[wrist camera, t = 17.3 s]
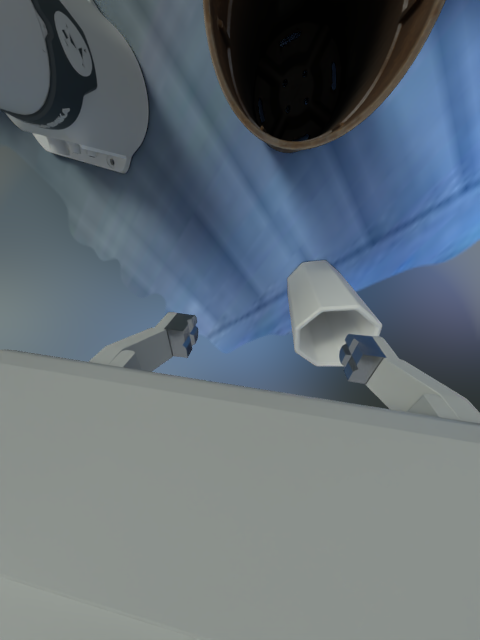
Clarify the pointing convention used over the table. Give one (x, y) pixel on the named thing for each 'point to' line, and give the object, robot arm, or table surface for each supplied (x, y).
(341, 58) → the plant pot
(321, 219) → the table surface
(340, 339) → the cup
